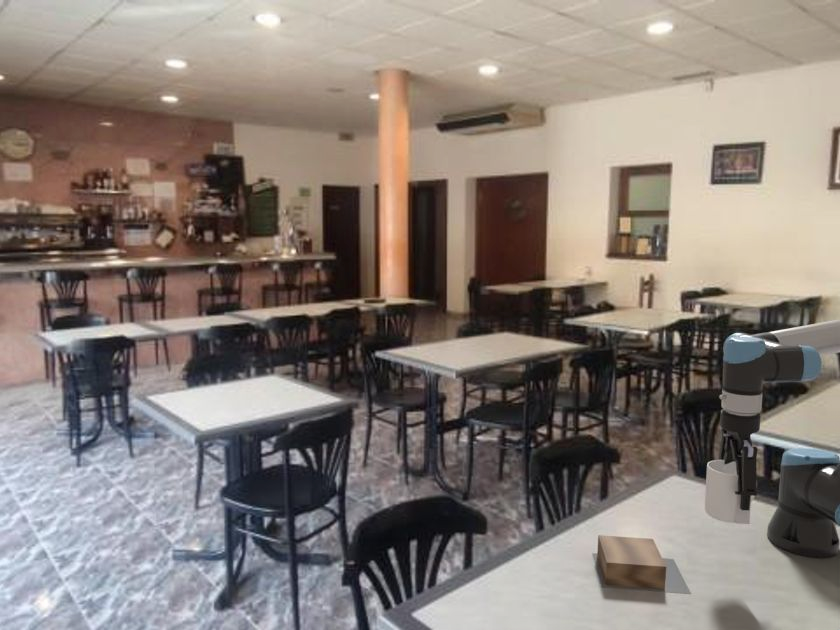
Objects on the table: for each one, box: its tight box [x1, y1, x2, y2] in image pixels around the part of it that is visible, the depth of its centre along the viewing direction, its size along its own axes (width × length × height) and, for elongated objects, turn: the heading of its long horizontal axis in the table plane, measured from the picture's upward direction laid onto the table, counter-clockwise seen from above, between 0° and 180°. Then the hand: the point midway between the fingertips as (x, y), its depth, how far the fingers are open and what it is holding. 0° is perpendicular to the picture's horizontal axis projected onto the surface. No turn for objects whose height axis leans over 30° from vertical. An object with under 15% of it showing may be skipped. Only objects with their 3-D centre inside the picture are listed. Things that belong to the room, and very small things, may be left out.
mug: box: [704, 459, 756, 524], centre depth 137 cm, size 9×12×11 cm
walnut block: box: [596, 534, 666, 589], centre depth 140 cm, size 12×12×5 cm
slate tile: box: [591, 552, 692, 595], centre depth 140 cm, size 18×14×1 cm
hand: (733, 512), depth 137 cm, fingers closed on mug, 9 cm apart
